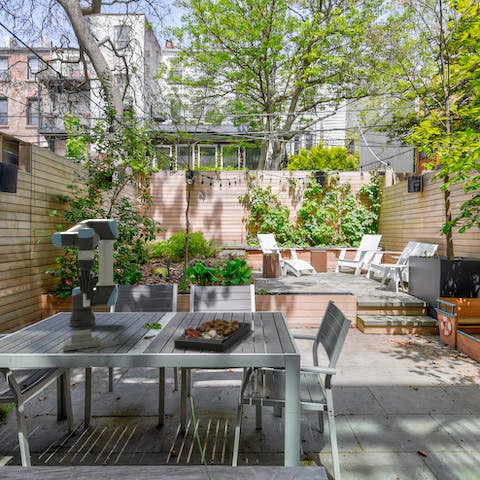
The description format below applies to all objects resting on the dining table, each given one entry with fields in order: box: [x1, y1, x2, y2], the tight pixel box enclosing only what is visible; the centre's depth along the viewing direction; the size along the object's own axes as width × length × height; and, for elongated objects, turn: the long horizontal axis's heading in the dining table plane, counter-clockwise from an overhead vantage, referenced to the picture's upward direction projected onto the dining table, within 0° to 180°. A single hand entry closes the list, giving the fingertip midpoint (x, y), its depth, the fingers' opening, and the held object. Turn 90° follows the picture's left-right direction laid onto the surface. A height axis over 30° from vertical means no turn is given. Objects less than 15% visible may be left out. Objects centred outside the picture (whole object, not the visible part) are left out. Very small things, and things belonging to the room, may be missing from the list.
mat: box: [76, 339, 122, 353], centre depth 177 cm, size 10×18×1 cm, turn 145°
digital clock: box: [62, 328, 101, 352], centre depth 175 cm, size 16×9×11 cm
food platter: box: [173, 318, 252, 353], centre depth 191 cm, size 45×25×10 cm, turn 162°
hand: (86, 306), depth 183 cm, fingers closed
